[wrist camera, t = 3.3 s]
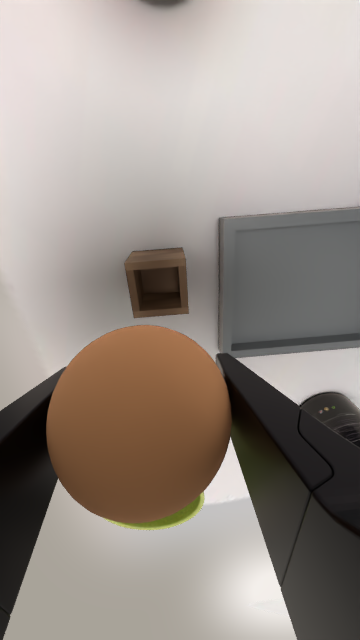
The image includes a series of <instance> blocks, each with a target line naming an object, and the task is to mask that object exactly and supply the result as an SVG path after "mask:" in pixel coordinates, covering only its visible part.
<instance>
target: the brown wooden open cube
mask: <svg viewBox="0 0 360 640" xmlns="http://www.w3.org/2000/svg"><path fill="white" fill-rule="evenodd" d="M124 264H125V270H126V276H127V281H128V287H129V293H130V298H131V304H132V310H133V315H134V318H141V317H153V316H165V315H177V314H189V309H188V292H187V275H186V258H185V255H184V252H183V249H182V248H170V249H158V250H145V251H133V252H132V253H131V254H130V256H129V257H128V259H127V260H126V261H125V263H124Z"/></svg>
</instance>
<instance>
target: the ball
mask: <svg viewBox="0 0 360 640" xmlns="http://www.w3.org/2000/svg"><path fill="white" fill-rule="evenodd" d="M231 425H232V414H231V402H230V397H229V393H228V389H227V385H226V383H225V381H224V378H223V376H222V374H221V372H220V370H219V368H218V367H217V365H216V364H215V362H214V361H213V359H212V358H211V357H210V355H209V354H208V353H207V352H206V351H205V350H204V349H203V348H202V347H201V346H199V345H198V344H197V343H196V342H195V341H193V340H192V339H190V338H189V337H187V336H185V335H183V334H181V333H179V332H177V331H174V330H171V329H168V328H164V327H159V326H151V325H137V326H130V327H125V328H121V329H117V330H114V331H112V332H109V333H107V334H105V335H103V336H101V337H100V338H98V339H96V340H94V341H93V342H91V343H90V344H89V345H87V346H86V347H85V348H84V349H83V350H81V351H80V352H79V353H78V354H77V355H76V356H75V357H74V358H73V360H72V361H71V362H70V363H69V365H68V366H67V367H66V369H65V370H64V372H63V373H62V375H61V377H60V379H59V381H58V383H57V385H56V387H55V389H54V391H53V394H52V397H51V401H50V404H49V409H48V414H47V423H46V436H47V446H48V452H49V455H50V459H51V463H52V465H53V468H54V470H55V472H56V474H57V476H58V478H59V480H60V482H61V483H62V485H63V486H64V488H65V489H66V490H67V492H68V493H69V494H70V495H71V496H72V497H73V499H75V500H76V501H77V502H78V503H79V504H81V505H82V506H83V507H84V508H86V509H87V510H89V511H90V512H92V513H94V514H96V515H98V516H100V517H103V518H106V519H109V520H112V521H116V522H121V523H145V522H151V521H155V520H158V519H162V518H165V517H167V516H170V515H172V514H174V513H176V512H178V511H179V510H181V509H183V508H184V507H186V506H187V505H189V504H190V503H191V502H193V501H194V500H195V499H196V498H197V497H198V496H199V495H200V494H201V493H202V492H203V491H204V490H205V489H206V488H207V487H208V485H209V484H210V483H211V481H212V480H213V478H214V477H215V475H216V474H217V472H218V470H219V468H220V466H221V464H222V462H223V460H224V457H225V454H226V451H227V448H228V444H229V440H230V434H231Z"/></svg>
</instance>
